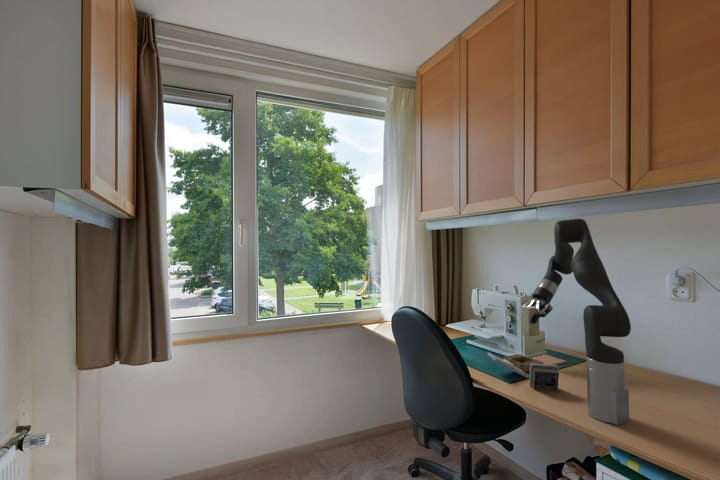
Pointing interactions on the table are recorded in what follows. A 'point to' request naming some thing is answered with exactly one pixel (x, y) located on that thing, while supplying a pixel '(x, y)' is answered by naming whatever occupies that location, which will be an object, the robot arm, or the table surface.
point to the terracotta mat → (549, 360)
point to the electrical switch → (544, 377)
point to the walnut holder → (522, 362)
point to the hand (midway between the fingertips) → (527, 321)
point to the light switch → (507, 364)
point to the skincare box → (529, 321)
